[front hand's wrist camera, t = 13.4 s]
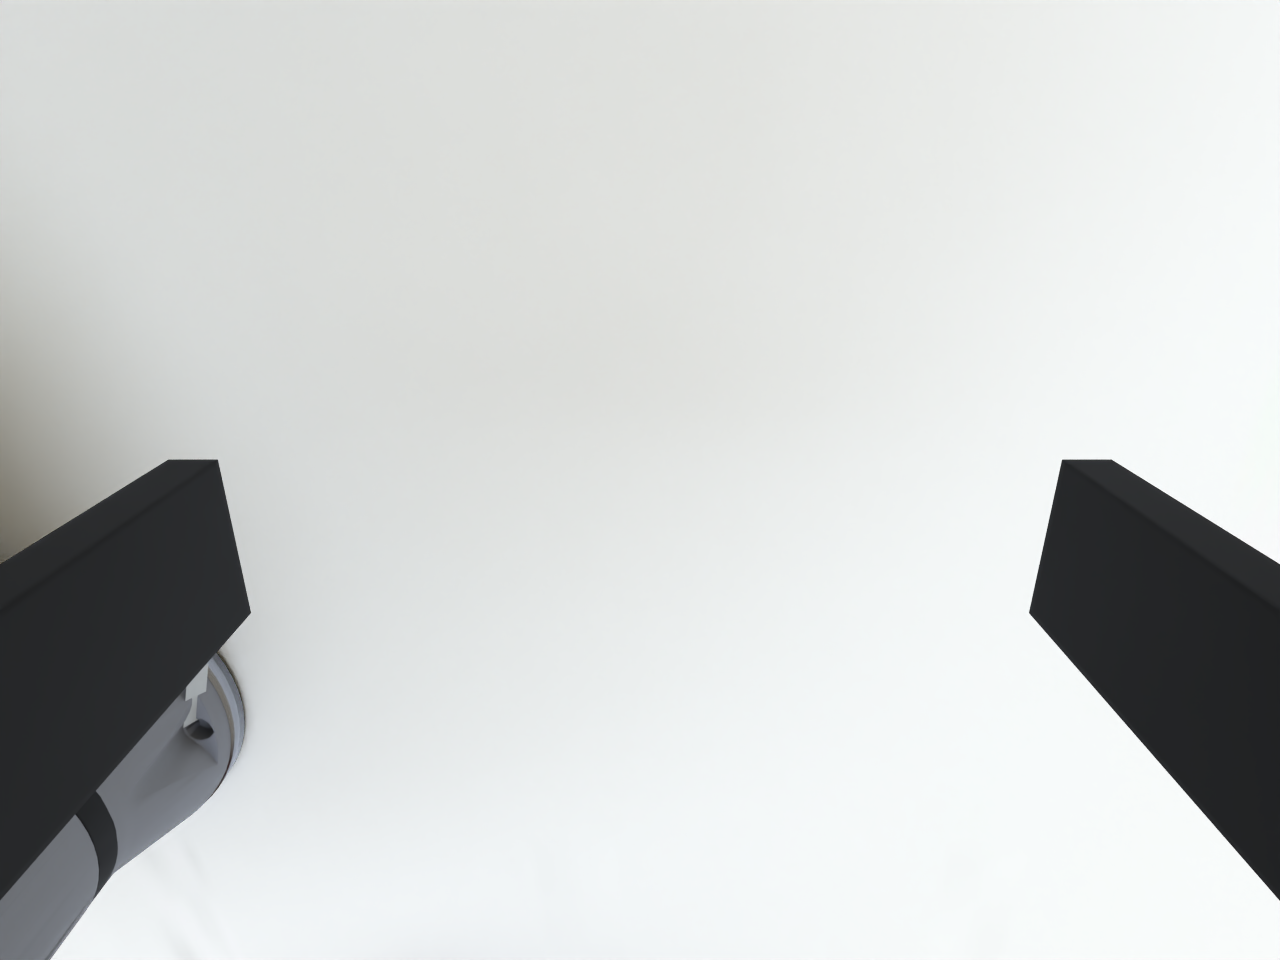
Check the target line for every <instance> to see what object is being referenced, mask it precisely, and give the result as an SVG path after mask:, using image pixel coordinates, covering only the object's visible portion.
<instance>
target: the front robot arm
mask: <svg viewBox="0 0 1280 960" xmlns="http://www.w3.org/2000/svg"><path fill="white" fill-rule="evenodd" d="M250 613H251V611H250V606H249V602H248V597H247V593H246V588H245V583H244V579H243V574H242V569H241V565H240V560H239V556H238V551H237V546H236V542H235V537H234V532H233V528H232V523H231V519H230V514H229V509H228V505H227V500H226V495H225V491H224V486H223V482H222V477H221V472H220V468H219V463H218V460H167V461H166V462H164V463H162V464H161V465H159V466H158V467H156V468H154V469H153V470H151V471H149V472H148V473H146V474H145V475H143V476H141V477H140V478H138V479H137V480H135V481H133V482H132V483H130V484H129V485H127V486H125V487H124V488H122V489H121V490H119V491H117V492H116V493H114V494H112V495H111V496H109V497H108V498H106V499H104V500H103V501H101V502H100V503H98V504H96V505H95V506H93V507H92V508H90V509H88V510H87V511H85V512H84V513H82V514H80V515H79V516H77V517H76V518H74V519H72V520H71V521H69V522H67V523H66V524H64V525H63V526H61V527H59V528H58V529H56V530H55V531H53V532H51V533H50V534H48V535H47V536H45V537H43V538H42V539H40V540H39V541H37V542H35V543H34V544H32V545H30V546H29V547H27V548H26V549H24V550H22V551H21V552H19V553H18V554H16V555H14V556H13V557H11V558H10V559H8V560H6V561H5V562H3V563H2V564H0V960H50V959H51V958H52V956H53V955H54V954H55V952H56V951H57V949H58V948H59V947H60V945H61V944H62V943H63V941H64V940H65V938H66V937H67V936H68V934H69V933H70V932H71V930H72V929H73V928H74V926H75V925H76V923H77V922H78V921H79V919H80V918H81V917H82V915H83V914H84V912H85V911H86V910H87V908H88V907H89V905H90V904H91V902H92V901H93V900H94V898H95V897H96V896H97V894H98V893H99V892H100V890H101V889H102V887H103V886H104V885H105V883H106V882H107V881H108V880H109V878H110V877H111V876H112V874H113V873H114V872H116V871H117V870H118V869H120V868H121V867H122V866H124V865H125V864H126V863H128V862H129V861H130V860H132V859H133V858H134V857H136V856H137V855H138V854H140V853H141V852H142V851H144V850H145V849H146V848H148V847H149V846H150V845H152V844H153V843H154V842H156V841H157V840H158V839H160V838H161V837H162V836H164V835H165V834H166V833H168V832H169V831H171V830H172V829H173V828H175V827H176V826H177V825H179V824H180V823H181V822H183V821H184V820H185V819H187V818H188V817H189V816H191V815H192V814H193V813H194V812H195V811H197V810H198V809H199V808H200V807H201V806H202V805H203V804H204V803H205V802H206V801H207V800H208V799H209V798H210V797H211V796H212V795H213V794H214V792H215V791H216V790H217V789H218V787H219V786H220V784H221V783H222V781H223V780H224V778H225V777H226V775H227V774H228V772H229V771H230V769H231V768H232V766H233V764H234V763H235V761H236V759H237V757H238V755H239V752H240V749H241V746H242V743H243V737H244V724H245V720H244V710H243V705H242V701H241V697H240V694H239V691H238V688H237V686H236V684H235V682H234V679H233V677H232V675H231V674H230V672H229V670H228V669H227V667H226V665H225V664H224V662H223V661H222V660H221V658H220V657H219V655H218V654H217V653H216V652H217V651H218V650H219V649H220V648H221V647H222V645H223V644H224V643H225V642H226V641H227V640H228V639H229V637H230V636H231V635H232V634H233V633H234V632H235V631H236V629H237V628H238V627H239V626H240V625H241V624H242V623H243V621H244V620H245V619H246V618H247V617H248V616H249V615H250ZM1029 613H1030V615H1031V616H1032V617H1033V618H1034V619H1035V620H1036V621H1037V623H1038V624H1039V625H1040V626H1041V627H1042V628H1043V629H1044V631H1045V632H1046V633H1047V634H1048V635H1049V636H1050V637H1051V639H1052V640H1053V641H1054V642H1055V643H1056V644H1057V645H1058V647H1059V648H1060V649H1061V650H1062V651H1063V652H1064V654H1065V655H1066V656H1067V657H1068V658H1069V659H1070V660H1071V662H1072V663H1073V664H1074V665H1075V666H1076V667H1077V668H1078V670H1079V671H1080V672H1081V673H1082V674H1083V675H1084V676H1085V678H1086V679H1087V680H1088V681H1089V682H1090V683H1091V684H1092V686H1093V687H1094V688H1095V689H1096V690H1097V691H1098V693H1099V694H1100V695H1101V696H1102V697H1103V698H1104V699H1105V701H1106V702H1107V703H1108V704H1109V705H1110V706H1111V707H1112V709H1113V710H1114V711H1115V712H1116V713H1117V714H1118V715H1119V717H1120V718H1121V719H1122V720H1123V721H1124V722H1125V724H1126V725H1127V726H1128V727H1129V728H1130V729H1131V730H1132V732H1133V733H1134V734H1135V735H1136V736H1137V737H1138V738H1139V740H1140V741H1141V742H1142V743H1143V744H1144V745H1145V746H1146V748H1147V749H1148V750H1149V751H1150V752H1151V753H1152V754H1153V756H1154V757H1155V758H1156V759H1157V760H1158V761H1159V763H1160V764H1161V765H1162V766H1163V767H1164V768H1165V769H1166V771H1167V772H1168V773H1169V774H1170V775H1171V776H1172V777H1173V779H1174V780H1175V781H1176V782H1177V783H1178V784H1179V785H1180V787H1181V788H1182V789H1183V790H1184V791H1185V792H1186V794H1187V795H1188V796H1189V797H1190V798H1191V799H1192V800H1193V802H1194V803H1195V804H1196V805H1197V806H1198V807H1199V808H1200V810H1201V811H1202V812H1203V813H1204V814H1205V815H1206V816H1207V818H1208V819H1209V820H1210V821H1211V822H1212V823H1213V824H1214V826H1215V827H1216V828H1217V829H1218V830H1219V831H1220V833H1221V834H1222V835H1223V836H1224V837H1225V838H1226V839H1227V841H1228V842H1229V843H1230V844H1231V845H1232V846H1233V847H1234V849H1235V850H1236V851H1237V852H1238V853H1239V854H1240V855H1241V857H1242V858H1243V859H1244V860H1245V861H1246V862H1247V863H1248V865H1249V866H1250V867H1251V868H1252V869H1253V870H1254V872H1255V873H1256V874H1257V875H1258V876H1259V877H1260V878H1261V880H1262V881H1263V882H1264V883H1265V884H1266V885H1267V886H1268V888H1269V889H1270V890H1271V891H1272V892H1273V893H1274V894H1275V896H1276V897H1277V898H1278V899H1279V900H1280V564H1278V563H1277V562H1275V561H1274V560H1272V559H1270V558H1269V557H1267V556H1266V555H1264V554H1262V553H1261V552H1259V551H1258V550H1256V549H1254V548H1253V547H1251V546H1250V545H1248V544H1246V543H1245V542H1243V541H1241V540H1240V539H1238V538H1237V537H1235V536H1233V535H1232V534H1230V533H1229V532H1227V531H1225V530H1224V529H1222V528H1221V527H1219V526H1217V525H1216V524H1214V523H1213V522H1211V521H1209V520H1208V519H1206V518H1204V517H1203V516H1201V515H1200V514H1198V513H1196V512H1195V511H1193V510H1192V509H1190V508H1188V507H1187V506H1185V505H1184V504H1182V503H1180V502H1179V501H1177V500H1176V499H1174V498H1172V497H1171V496H1169V495H1167V494H1166V493H1164V492H1163V491H1161V490H1159V489H1158V488H1156V487H1155V486H1153V485H1151V484H1150V483H1148V482H1147V481H1145V480H1143V479H1142V478H1140V477H1139V476H1137V475H1135V474H1134V473H1132V472H1131V471H1129V470H1127V469H1126V468H1124V467H1122V466H1121V465H1119V464H1118V463H1116V462H1114V461H1113V460H1062V463H1061V468H1060V472H1059V477H1058V482H1057V486H1056V491H1055V495H1054V500H1053V505H1052V509H1051V514H1050V519H1049V523H1048V528H1047V532H1046V537H1045V542H1044V546H1043V551H1042V556H1041V560H1040V565H1039V569H1038V574H1037V579H1036V583H1035V588H1034V593H1033V597H1032V602H1031V606H1030V611H1029Z"/></svg>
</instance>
